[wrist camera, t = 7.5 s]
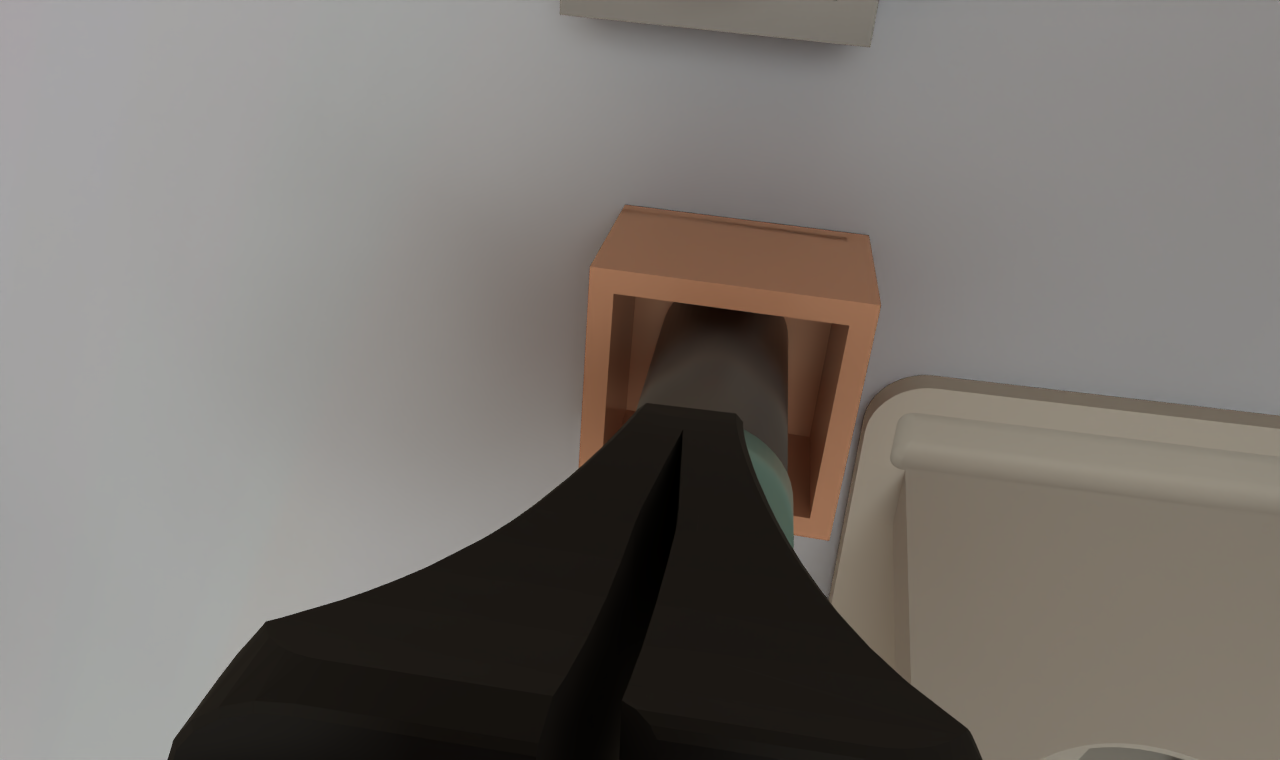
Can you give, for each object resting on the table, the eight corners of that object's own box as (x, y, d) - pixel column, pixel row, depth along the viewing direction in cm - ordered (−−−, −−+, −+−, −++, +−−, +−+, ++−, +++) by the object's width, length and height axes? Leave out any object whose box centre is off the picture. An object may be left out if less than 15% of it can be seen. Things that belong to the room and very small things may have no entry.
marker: (791, 400, 23) (791, 623, 16) (660, 397, 23) (602, 612, 16) (793, 275, 21) (795, 458, 14) (654, 275, 22) (588, 452, 15)
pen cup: (869, 235, 21) (881, 305, 18) (825, 444, 24) (829, 540, 20) (624, 204, 22) (590, 266, 18) (610, 412, 24) (576, 500, 21)
